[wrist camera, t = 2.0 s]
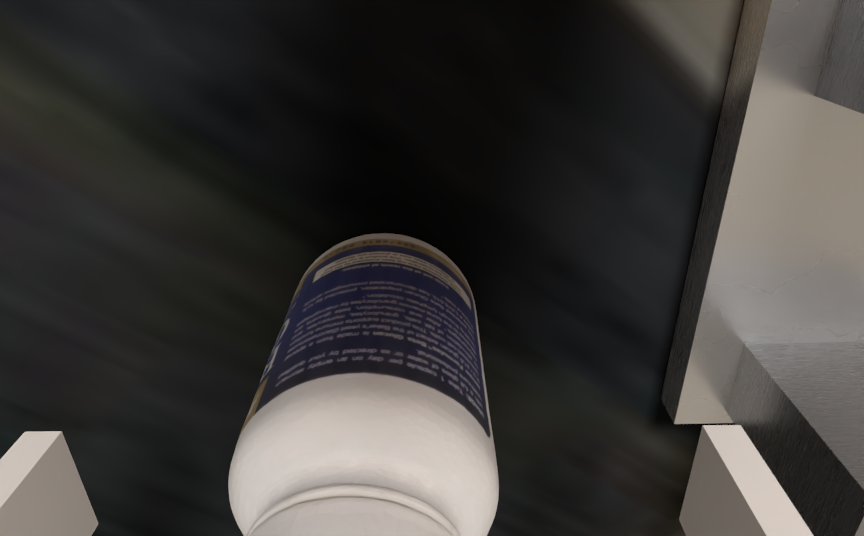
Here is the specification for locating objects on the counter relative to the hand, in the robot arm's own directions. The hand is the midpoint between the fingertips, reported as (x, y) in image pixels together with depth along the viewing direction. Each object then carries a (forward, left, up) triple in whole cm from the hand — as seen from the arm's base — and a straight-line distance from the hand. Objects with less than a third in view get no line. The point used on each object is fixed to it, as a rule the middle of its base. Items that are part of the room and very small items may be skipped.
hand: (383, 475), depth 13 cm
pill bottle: (0, 0, -6) cm, 6 cm away
